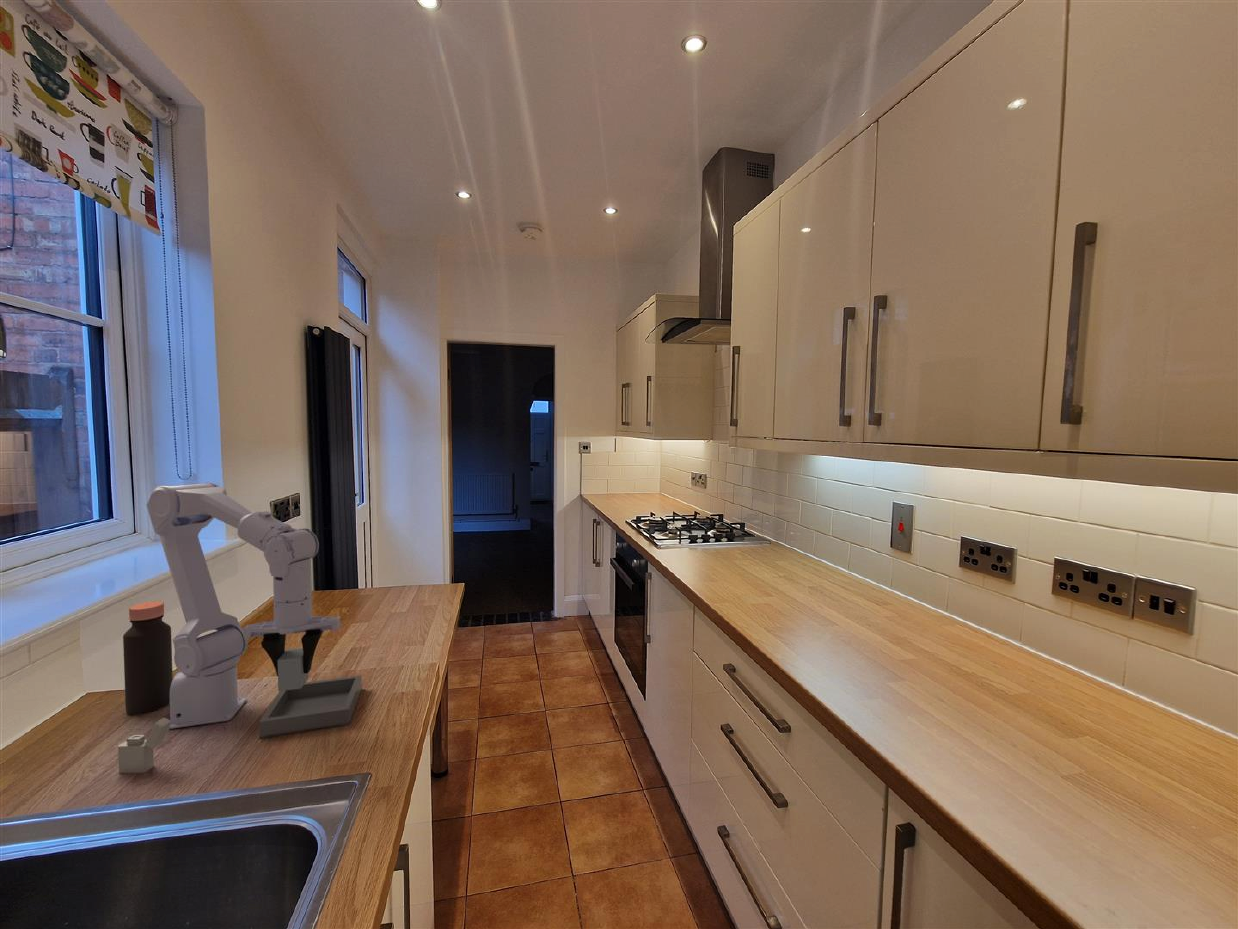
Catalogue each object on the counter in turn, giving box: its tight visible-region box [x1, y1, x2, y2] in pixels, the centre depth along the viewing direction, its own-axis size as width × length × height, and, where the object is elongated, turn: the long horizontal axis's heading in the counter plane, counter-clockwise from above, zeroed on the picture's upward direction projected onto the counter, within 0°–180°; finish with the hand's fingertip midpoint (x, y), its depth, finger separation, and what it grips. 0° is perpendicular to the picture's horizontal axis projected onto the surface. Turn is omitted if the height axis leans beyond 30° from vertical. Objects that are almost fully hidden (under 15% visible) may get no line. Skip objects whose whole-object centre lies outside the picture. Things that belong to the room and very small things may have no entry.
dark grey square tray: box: [258, 675, 363, 740], centre depth 96 cm, size 14×14×3 cm
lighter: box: [117, 717, 172, 774], centre depth 79 cm, size 7×2×8 cm, turn 91°
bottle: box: [122, 601, 174, 715], centre depth 97 cm, size 7×7×20 cm
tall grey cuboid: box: [277, 647, 310, 692], centre depth 90 cm, size 4×4×6 cm
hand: (294, 672), depth 90 cm, fingers closed on tall grey cuboid, 3 cm apart
